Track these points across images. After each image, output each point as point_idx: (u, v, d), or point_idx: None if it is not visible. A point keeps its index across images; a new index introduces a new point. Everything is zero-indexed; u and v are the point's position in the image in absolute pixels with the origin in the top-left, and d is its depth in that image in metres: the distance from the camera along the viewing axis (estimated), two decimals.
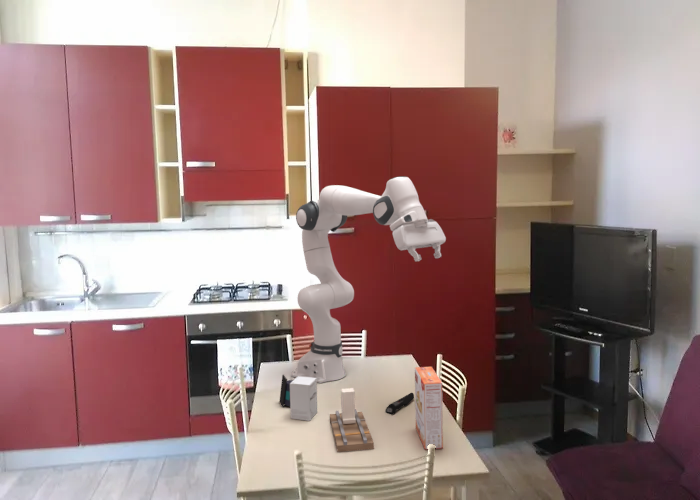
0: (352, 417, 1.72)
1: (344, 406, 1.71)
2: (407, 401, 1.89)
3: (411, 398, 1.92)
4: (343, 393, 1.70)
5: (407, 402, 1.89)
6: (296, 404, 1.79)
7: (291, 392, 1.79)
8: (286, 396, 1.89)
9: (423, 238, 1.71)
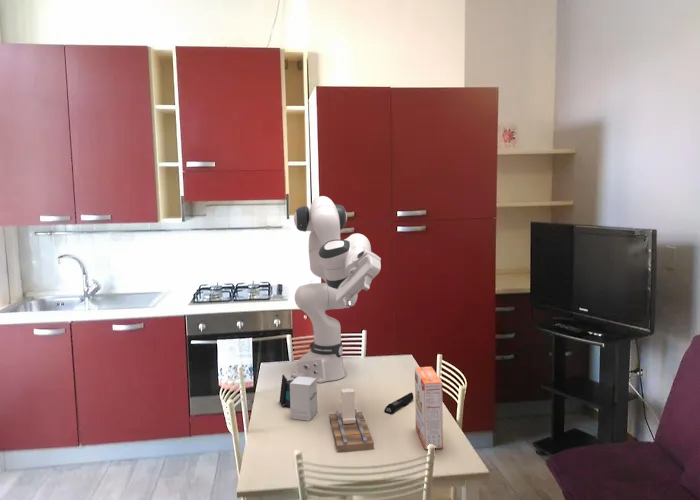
0: (352, 417, 1.72)
1: (344, 406, 1.71)
2: (406, 401, 1.89)
3: (410, 398, 1.92)
4: (343, 393, 1.70)
5: (406, 402, 1.89)
6: (296, 404, 1.79)
7: (291, 392, 1.79)
8: (286, 396, 1.89)
9: None
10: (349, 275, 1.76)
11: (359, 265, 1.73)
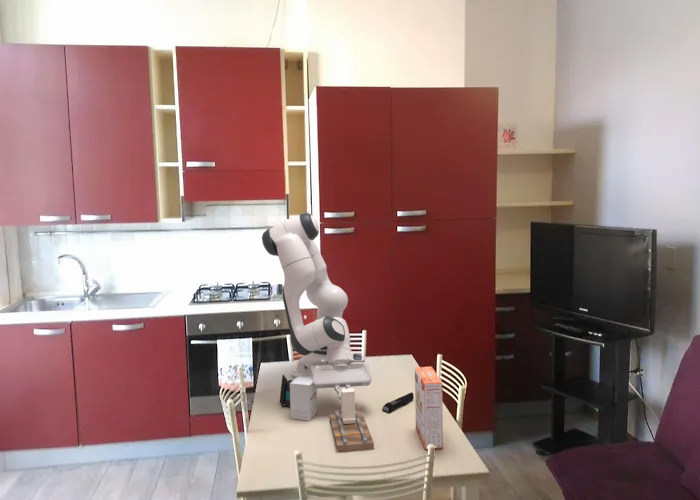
0: (352, 417, 1.72)
1: (344, 406, 1.71)
2: (405, 401, 1.90)
3: (410, 398, 1.92)
4: (343, 393, 1.70)
5: (405, 402, 1.90)
6: (296, 404, 1.79)
7: (291, 392, 1.79)
8: (286, 396, 1.89)
9: None
10: (336, 367, 1.83)
11: (352, 366, 1.84)
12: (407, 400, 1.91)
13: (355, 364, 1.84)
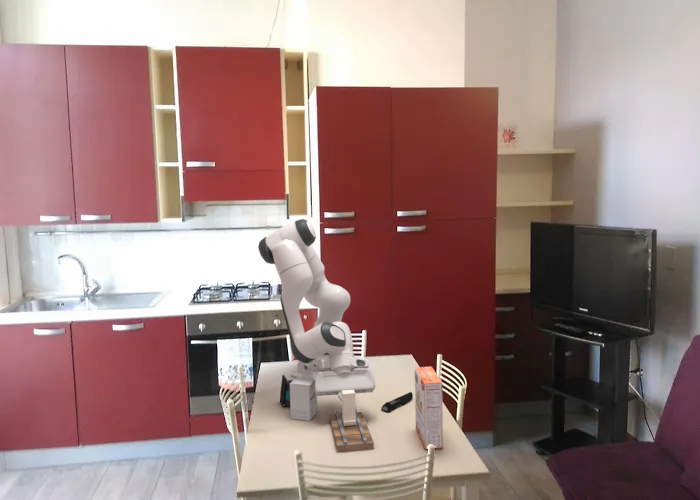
0: (353, 419, 1.70)
1: (345, 408, 1.69)
2: (404, 401, 1.90)
3: (409, 397, 1.93)
4: (344, 395, 1.69)
5: (404, 401, 1.90)
6: (296, 404, 1.79)
7: (291, 392, 1.79)
8: (286, 396, 1.89)
9: None
10: (339, 373, 1.78)
11: (355, 372, 1.79)
12: (406, 400, 1.91)
13: (358, 370, 1.79)
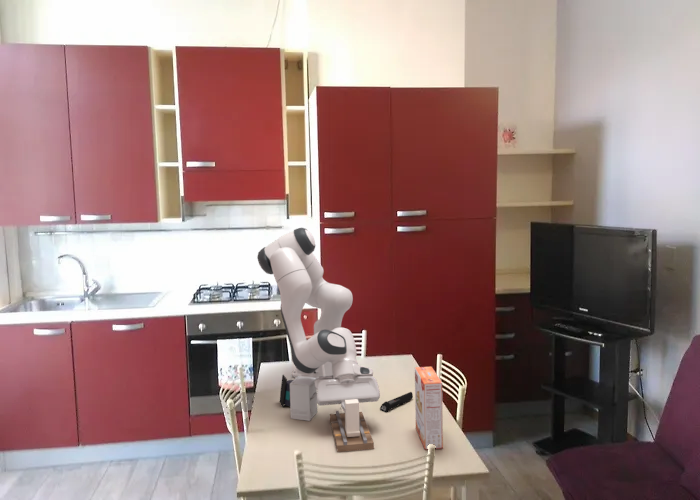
0: (356, 430, 1.63)
1: (348, 418, 1.62)
2: (404, 400, 1.90)
3: (409, 397, 1.93)
4: (347, 404, 1.61)
5: (404, 401, 1.90)
6: (296, 404, 1.79)
7: (291, 392, 1.79)
8: (286, 396, 1.89)
9: None
10: (342, 381, 1.70)
11: (359, 380, 1.71)
12: (406, 399, 1.91)
13: (362, 378, 1.71)
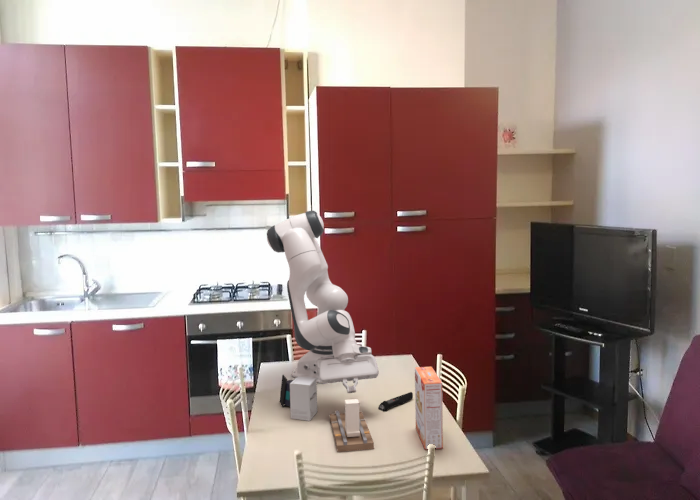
0: (356, 430, 1.63)
1: (348, 418, 1.62)
2: (403, 400, 1.90)
3: (409, 397, 1.93)
4: (347, 404, 1.61)
5: (403, 401, 1.90)
6: (296, 404, 1.79)
7: (291, 392, 1.79)
8: (286, 396, 1.89)
9: None
10: (343, 360, 1.80)
11: (358, 359, 1.81)
12: (405, 399, 1.91)
13: (362, 357, 1.81)
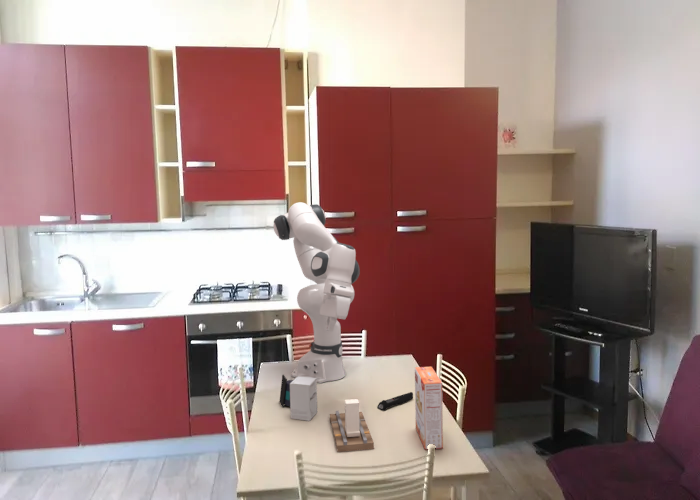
0: (356, 430, 1.63)
1: (348, 418, 1.62)
2: (402, 400, 1.91)
3: (409, 397, 1.93)
4: (347, 404, 1.61)
5: (403, 401, 1.91)
6: (296, 404, 1.79)
7: (291, 392, 1.79)
8: (286, 396, 1.89)
9: None
10: (327, 298, 1.80)
11: (332, 298, 1.75)
12: (405, 399, 1.91)
13: (332, 297, 1.73)
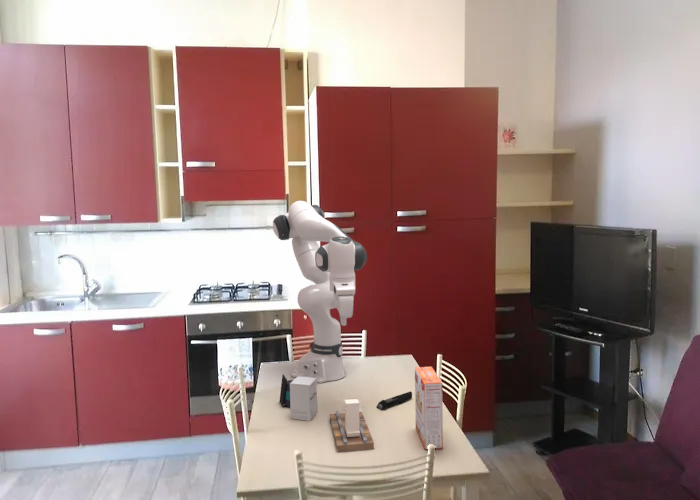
0: (356, 430, 1.63)
1: (348, 418, 1.62)
2: (402, 399, 1.91)
3: (408, 397, 1.93)
4: (347, 404, 1.61)
5: (402, 400, 1.91)
6: (296, 404, 1.79)
7: (291, 392, 1.79)
8: (286, 396, 1.89)
9: None
10: None
11: None
12: (404, 399, 1.92)
13: (337, 296, 1.75)
